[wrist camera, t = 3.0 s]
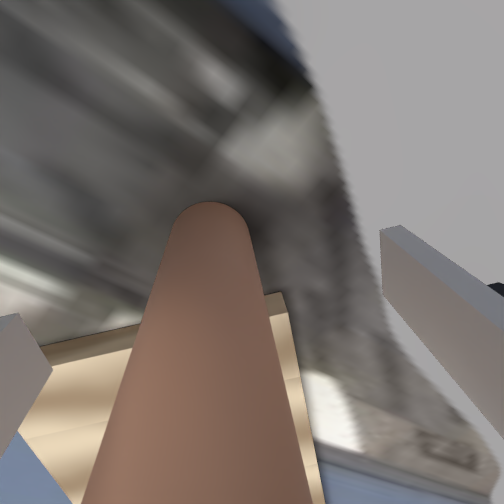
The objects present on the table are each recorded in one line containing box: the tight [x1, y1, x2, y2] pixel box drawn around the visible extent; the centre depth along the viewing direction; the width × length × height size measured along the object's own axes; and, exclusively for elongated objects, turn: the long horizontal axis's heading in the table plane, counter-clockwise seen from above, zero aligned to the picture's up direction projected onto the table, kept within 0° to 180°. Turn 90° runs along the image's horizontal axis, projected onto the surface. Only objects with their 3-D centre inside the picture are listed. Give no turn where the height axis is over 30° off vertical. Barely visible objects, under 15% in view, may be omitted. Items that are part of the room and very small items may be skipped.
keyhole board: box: [17, 292, 325, 504], centre depth 23 cm, size 22×16×2 cm
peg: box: [81, 202, 313, 504], centre depth 11 cm, size 4×4×15 cm
